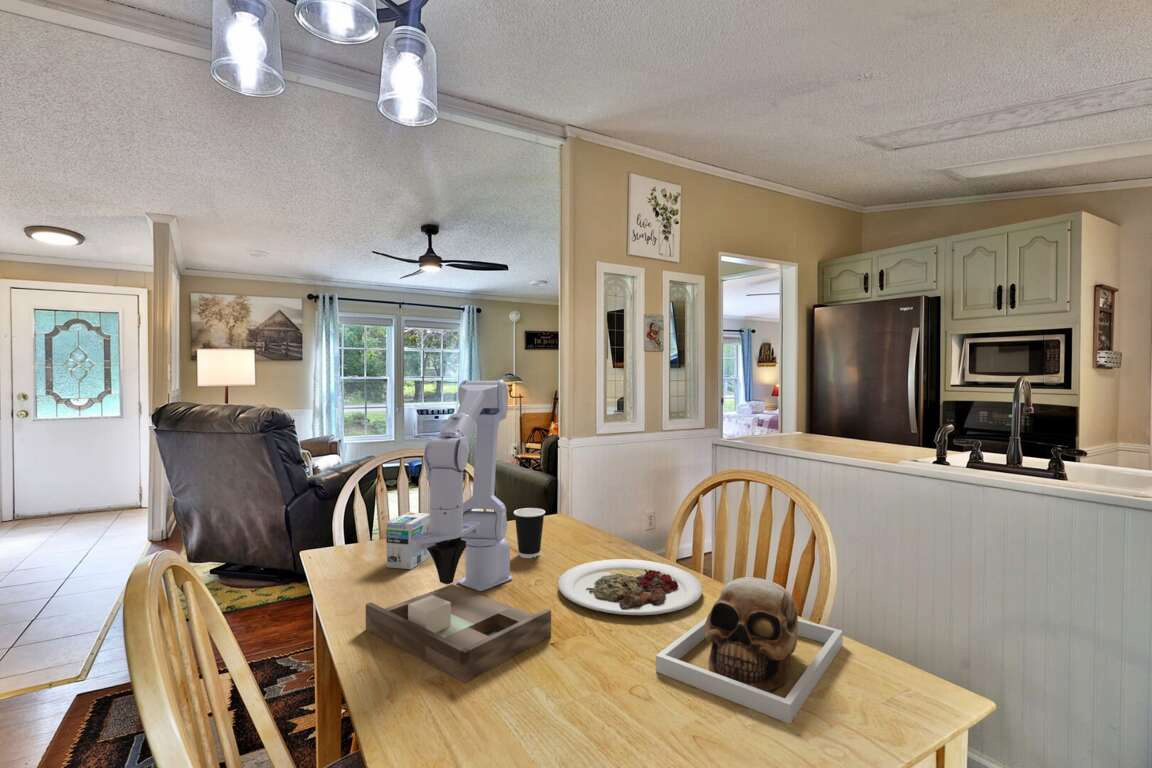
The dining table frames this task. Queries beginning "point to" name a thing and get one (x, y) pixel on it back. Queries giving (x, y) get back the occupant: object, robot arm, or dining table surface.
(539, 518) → the dixie cup
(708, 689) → the tray
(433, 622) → the cream block
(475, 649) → the brown wooden tray
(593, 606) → the plated food
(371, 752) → the dining table surface
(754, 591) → the brown skull figurine
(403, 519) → the light bulb box
